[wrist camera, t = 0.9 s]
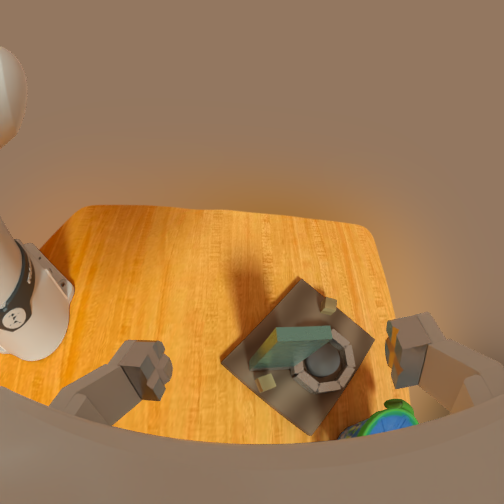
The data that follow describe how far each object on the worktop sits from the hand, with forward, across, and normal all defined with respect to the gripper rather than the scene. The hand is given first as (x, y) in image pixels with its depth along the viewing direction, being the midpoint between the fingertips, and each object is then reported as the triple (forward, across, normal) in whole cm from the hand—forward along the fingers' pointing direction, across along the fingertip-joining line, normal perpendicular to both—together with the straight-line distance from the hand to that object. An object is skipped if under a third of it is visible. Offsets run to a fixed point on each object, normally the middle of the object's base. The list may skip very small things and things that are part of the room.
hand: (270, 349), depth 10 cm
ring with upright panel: (+24, 0, +24) cm, 34 cm away
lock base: (+27, +1, +24) cm, 36 cm away
